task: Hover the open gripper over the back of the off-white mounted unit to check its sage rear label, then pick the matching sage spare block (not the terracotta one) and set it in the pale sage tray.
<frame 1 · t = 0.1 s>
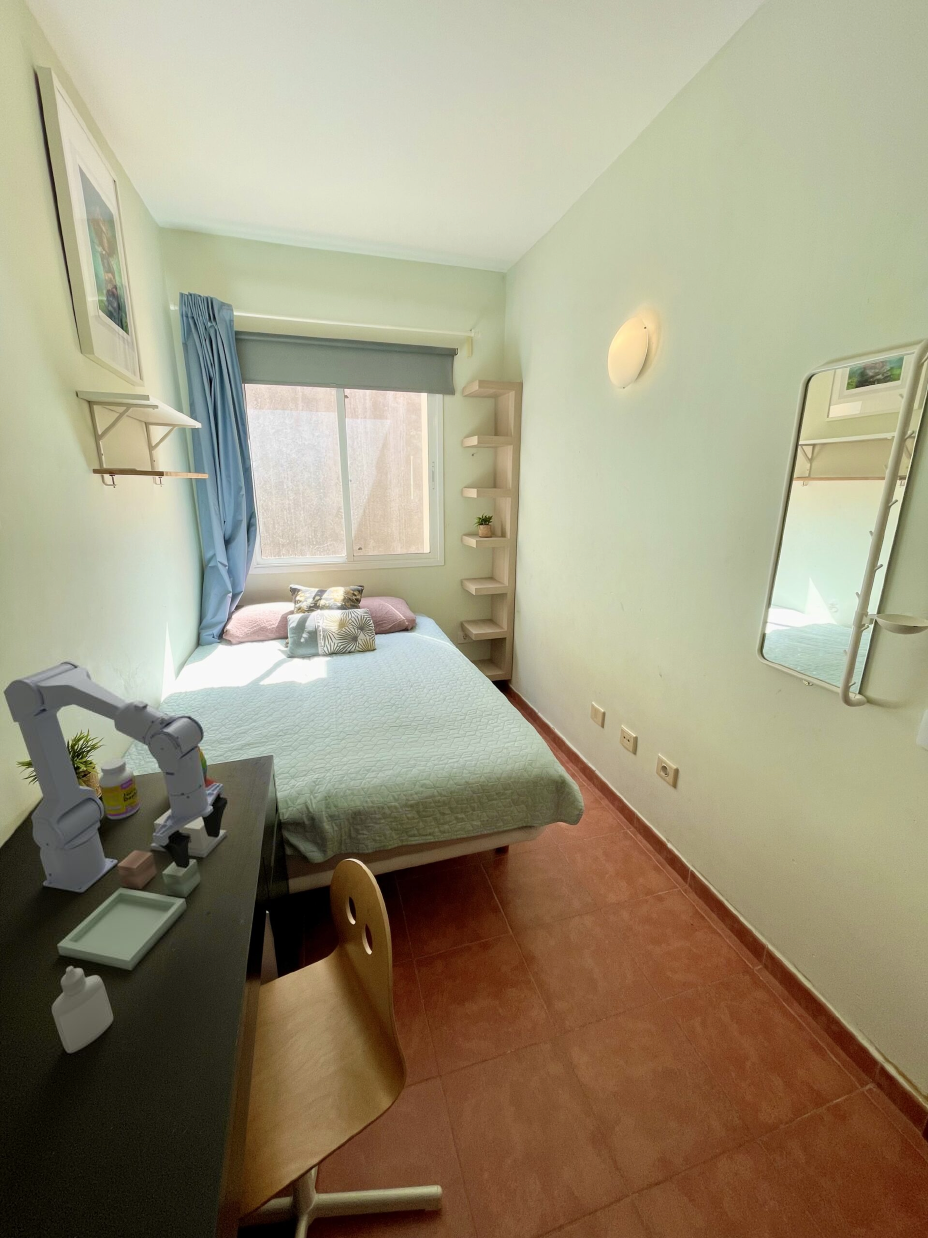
hand: (199, 850, 89), 10 cm above the table, tool pointing down, fingers open, 7 cm apart
supplement bottle: (124, 812, 116), on the table
stacking bear: (191, 791, 124), on the table
eye dropper bottle: (90, 1034, 69), on the table
sage tray: (126, 930, 85), on the table
sage spare: (184, 887, 94), on the table
mounted unit: (189, 841, 106), on the table
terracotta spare: (140, 880, 96), on the table
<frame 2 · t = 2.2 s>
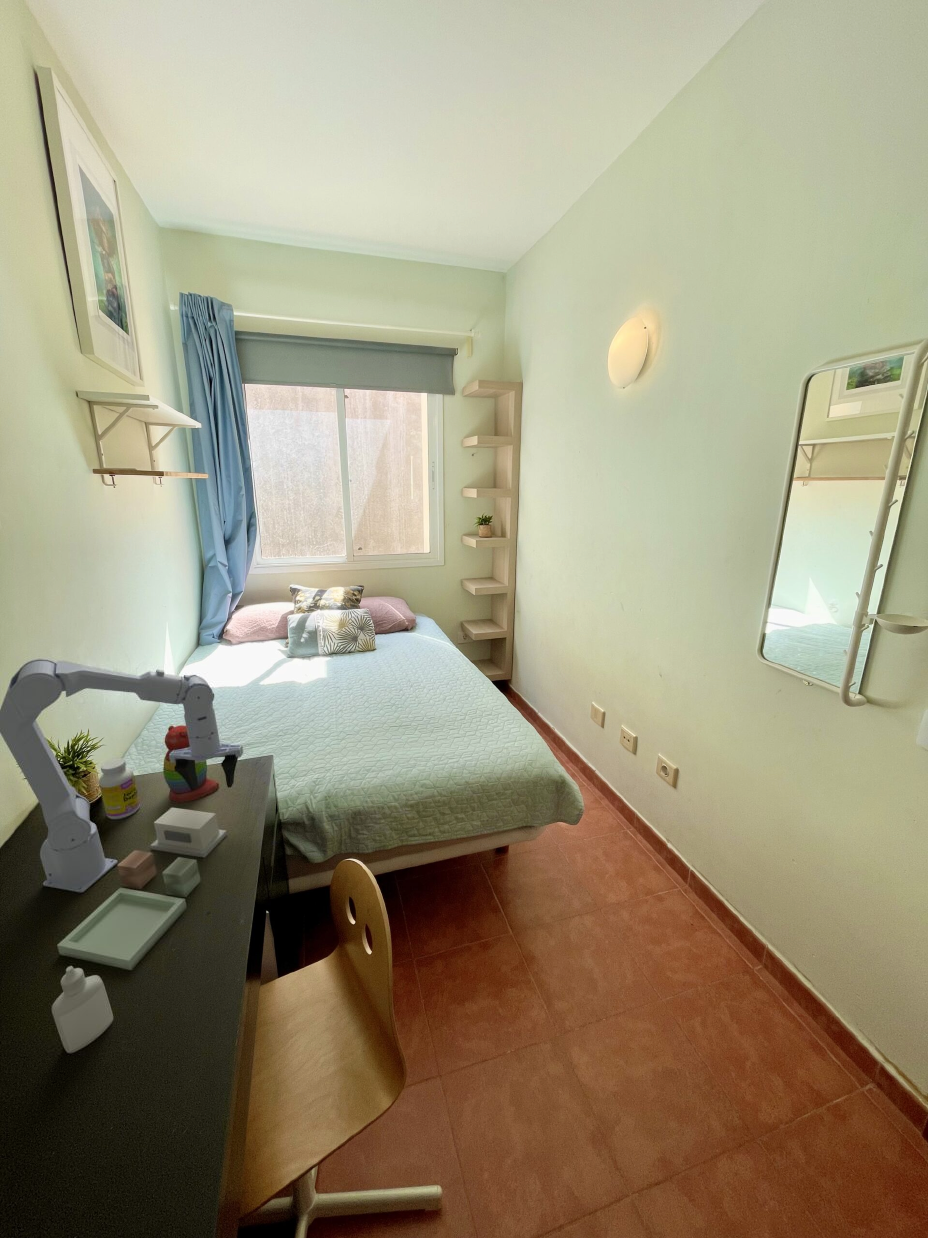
hand: (212, 786, 109), 9 cm above the table, tool pointing down, fingers open, 7 cm apart
nothing on the table moved.
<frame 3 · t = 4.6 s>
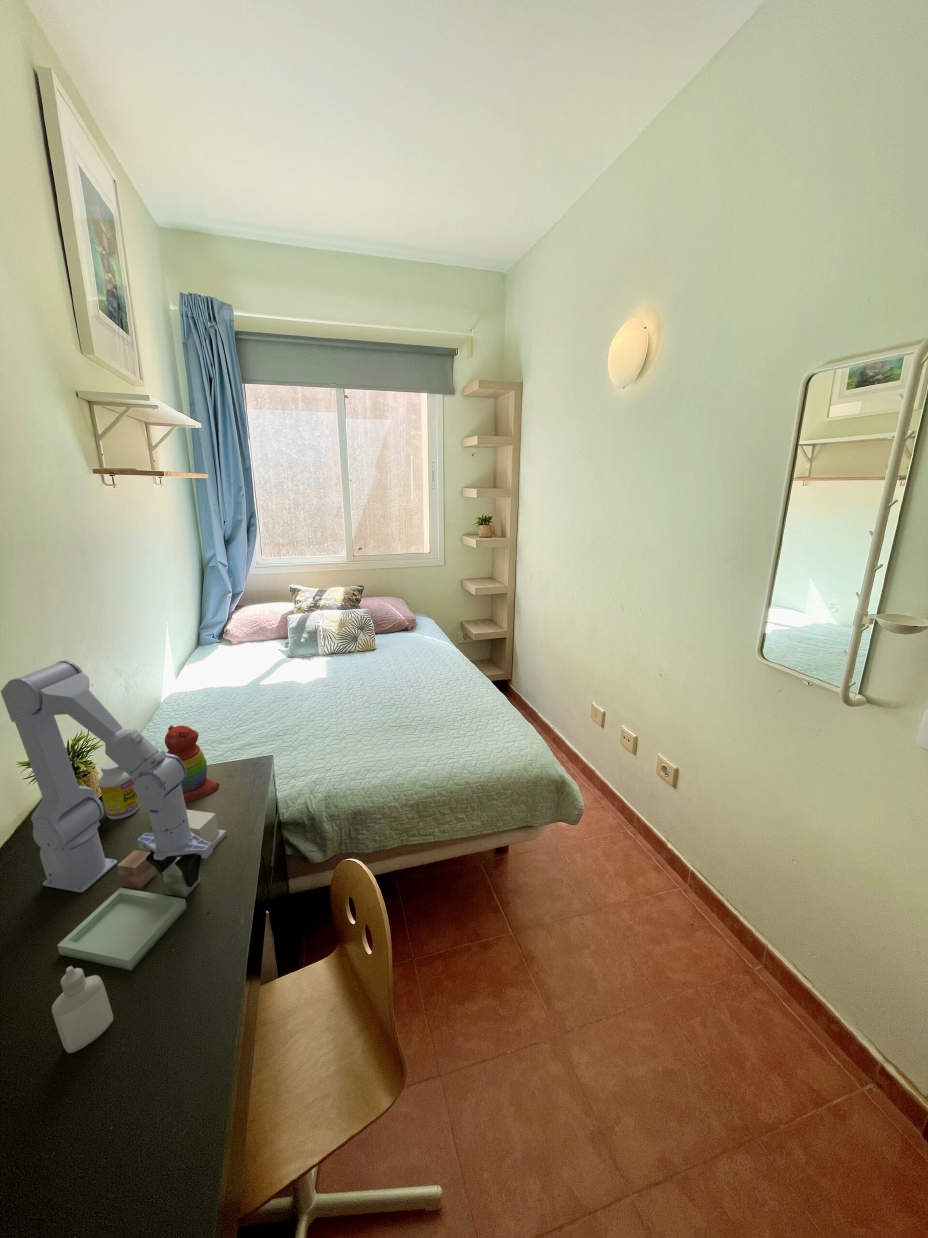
hand: (182, 881, 94), 1 cm above the table, tool pointing down, fingers closed on sage spare, 4 cm apart
sage spare: (184, 887, 94), on the table, touching gripper
everything else where it was.
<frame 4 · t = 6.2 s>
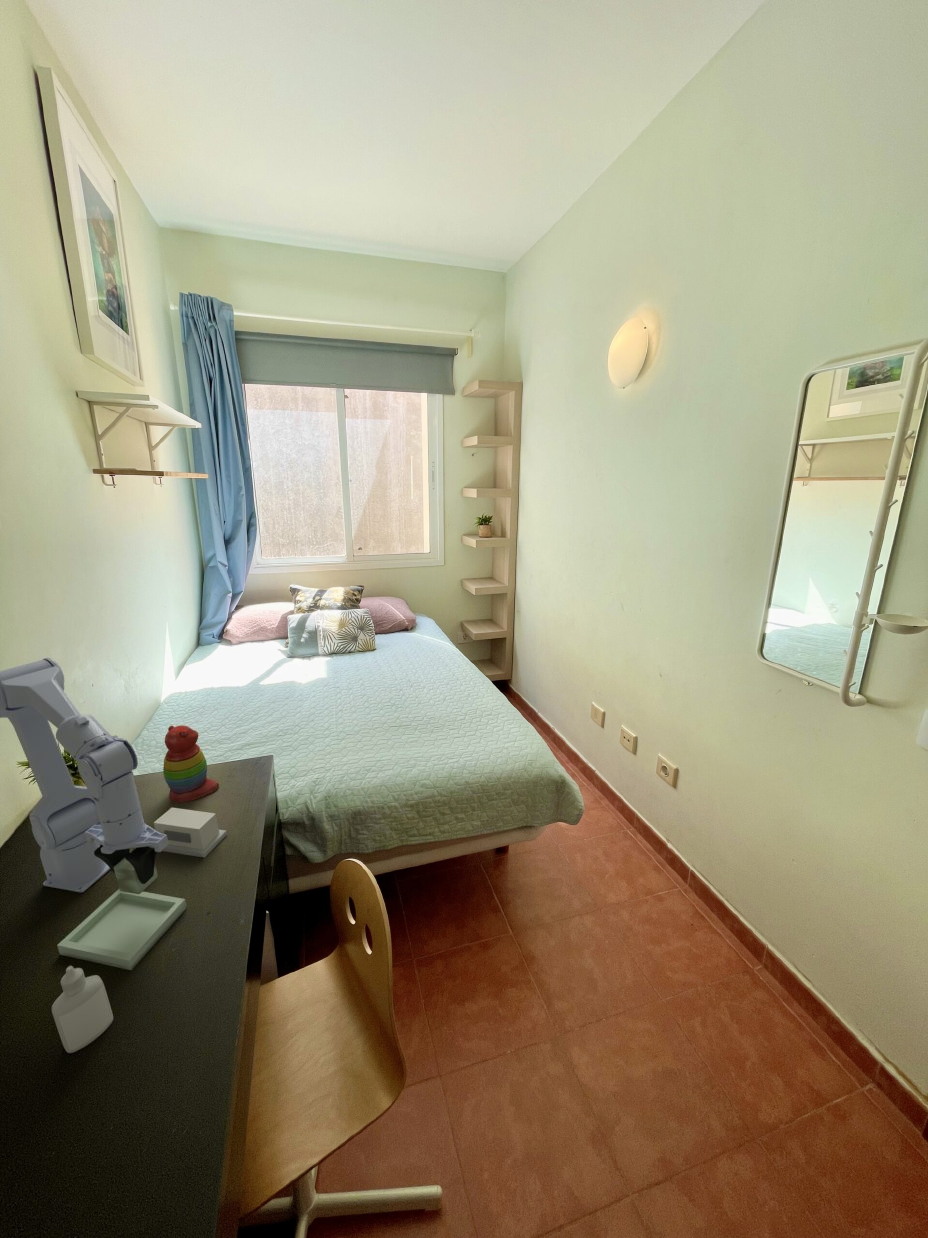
hand: (136, 877, 86), 8 cm above the table, tool pointing down, fingers closed on sage spare, 4 cm apart
sage spare: (139, 883, 86), point 7 cm above the table, touching gripper
everything else where it was.
when the fingers open (3 cm above the table, at t = 7.9 s): sage spare stays where it is, resting on sage tray.
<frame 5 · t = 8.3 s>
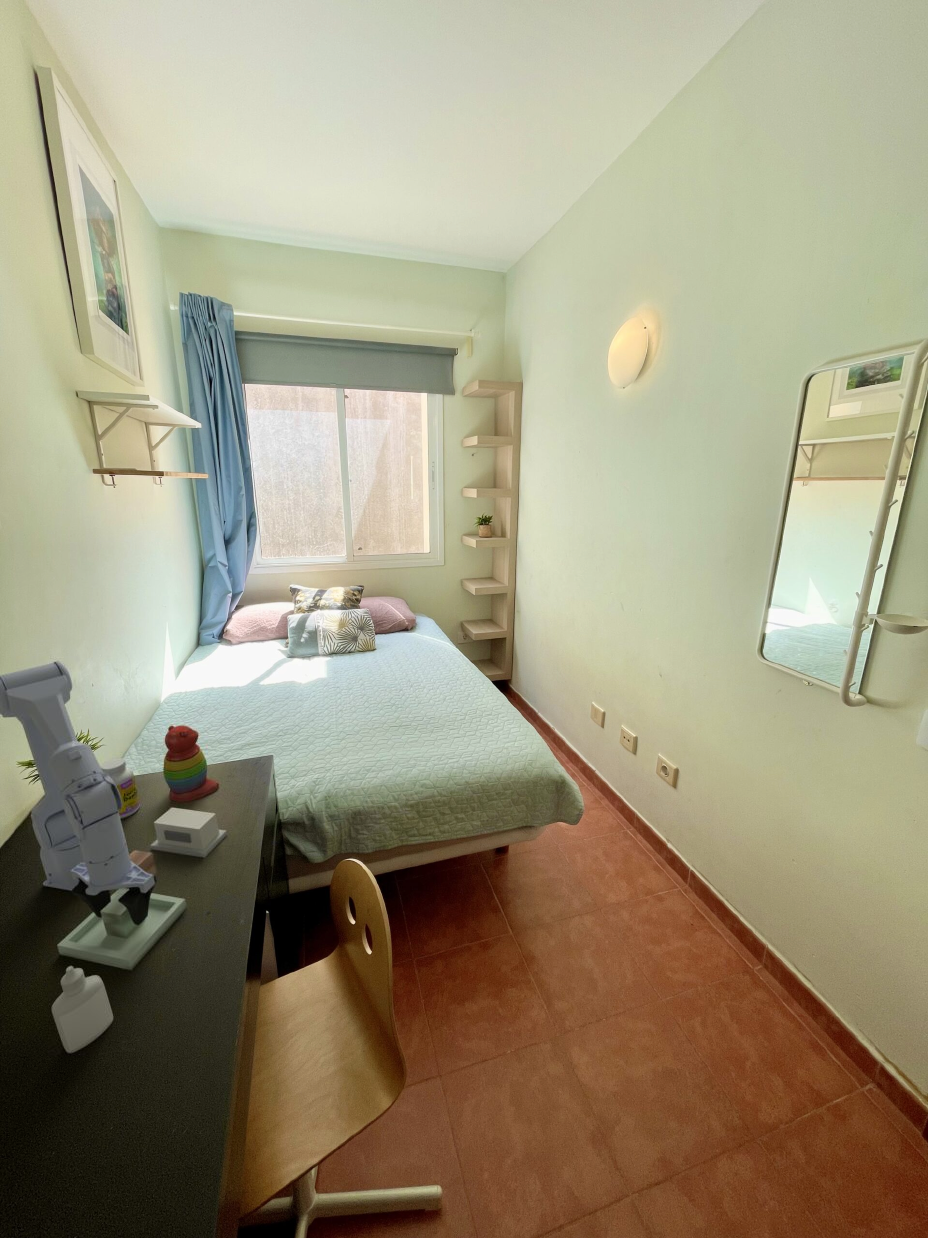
hand: (122, 916, 84), 3 cm above the table, tool pointing down, fingers open, 7 cm apart
sage spare: (126, 926, 85), point 1 cm above the table, touching sage tray
everything else where it was.
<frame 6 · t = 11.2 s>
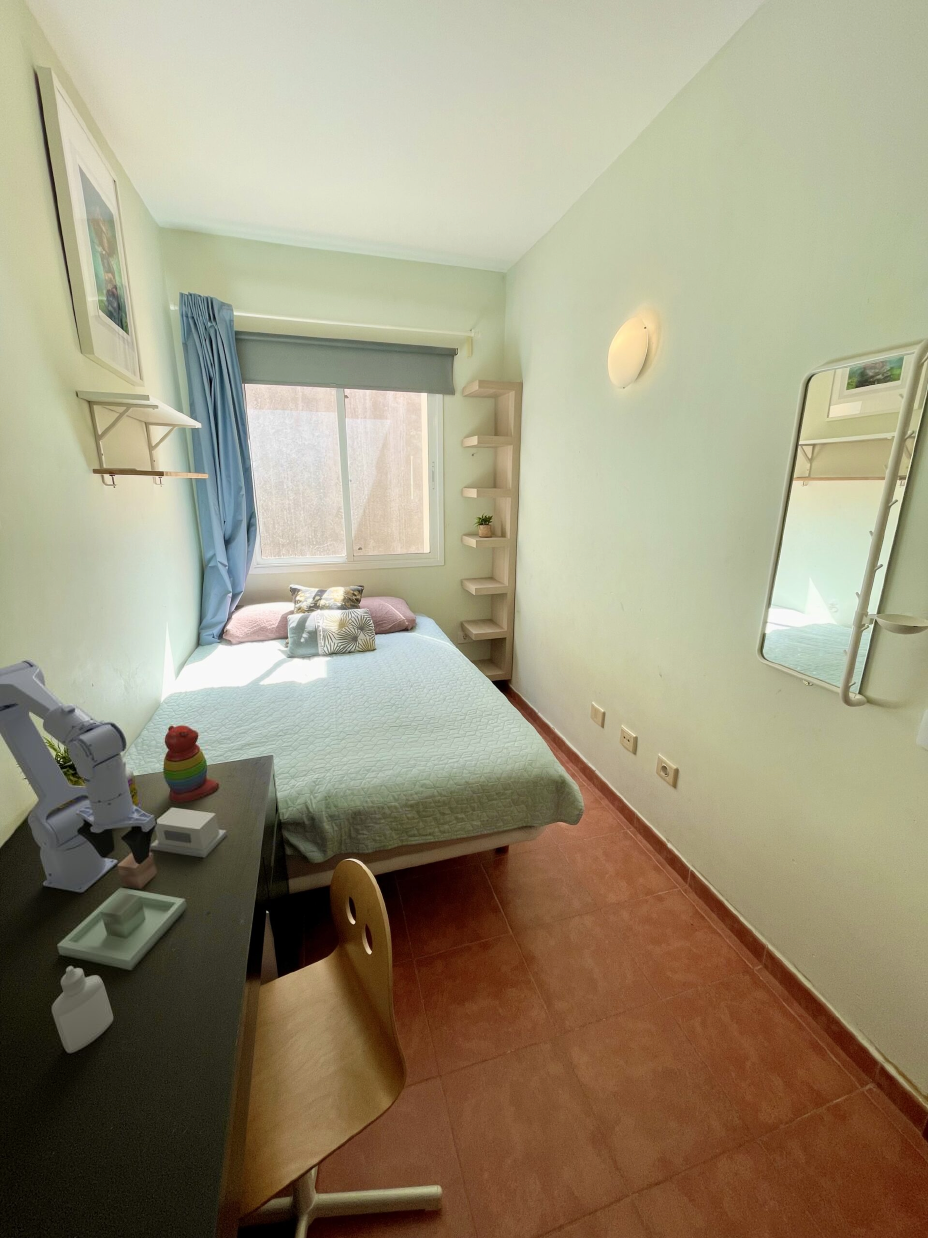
hand: (125, 857, 89), 9 cm above the table, tool pointing down, fingers open, 7 cm apart
nothing on the table moved.
at the end: sage spare inside the target area on the sage tray (0.2 cm from its centre), point 0.6 cm above the sage tray's base; sage spare tilted 0°; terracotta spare moved 0.1 cm from its start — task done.
